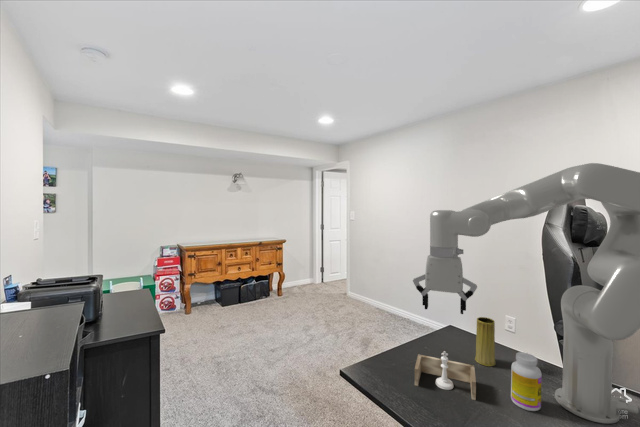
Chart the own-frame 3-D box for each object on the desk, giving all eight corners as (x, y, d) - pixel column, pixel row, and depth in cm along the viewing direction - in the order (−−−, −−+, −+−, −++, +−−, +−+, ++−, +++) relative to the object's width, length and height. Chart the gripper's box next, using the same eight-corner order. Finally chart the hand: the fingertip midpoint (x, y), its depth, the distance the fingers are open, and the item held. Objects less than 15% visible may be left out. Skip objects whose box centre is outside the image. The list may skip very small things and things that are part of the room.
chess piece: (455, 390, 84) (455, 356, 84) (437, 388, 85) (437, 355, 85) (451, 380, 89) (451, 348, 89) (434, 378, 90) (434, 346, 90)
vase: (495, 360, 100) (496, 318, 100) (495, 368, 95) (495, 325, 94) (475, 355, 103) (476, 315, 103) (474, 363, 98) (474, 321, 98)
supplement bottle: (542, 416, 74) (543, 366, 74) (511, 406, 78) (511, 358, 77) (539, 400, 80) (540, 354, 79) (510, 392, 83) (511, 348, 83)
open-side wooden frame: (473, 381, 88) (474, 365, 88) (475, 400, 80) (475, 382, 80) (418, 369, 95) (418, 354, 95) (414, 385, 87) (414, 368, 87)
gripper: (476, 252, 86) (476, 310, 86) (414, 248, 93) (414, 302, 94) (478, 256, 79) (477, 319, 79) (411, 252, 86) (411, 310, 87)
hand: (443, 310), depth 86 cm, fingers open, 9 cm apart
